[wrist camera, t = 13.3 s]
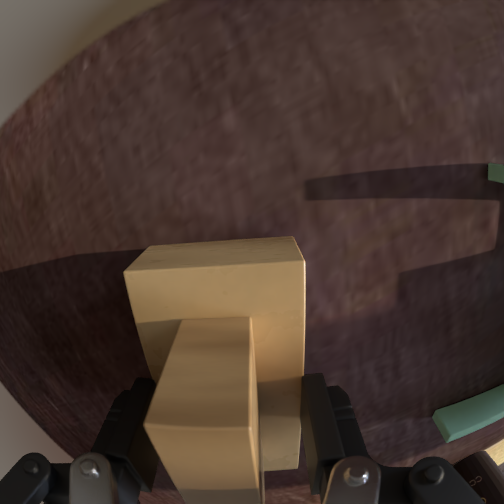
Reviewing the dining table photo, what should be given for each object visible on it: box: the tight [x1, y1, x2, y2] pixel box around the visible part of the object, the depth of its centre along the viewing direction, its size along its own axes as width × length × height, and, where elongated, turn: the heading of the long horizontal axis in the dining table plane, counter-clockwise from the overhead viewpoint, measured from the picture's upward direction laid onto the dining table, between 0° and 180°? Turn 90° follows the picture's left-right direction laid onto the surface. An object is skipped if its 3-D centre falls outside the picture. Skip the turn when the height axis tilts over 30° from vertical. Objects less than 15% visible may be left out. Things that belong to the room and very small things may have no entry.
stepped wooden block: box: [123, 236, 305, 504], centre depth 9 cm, size 10×5×8 cm, turn 4°
